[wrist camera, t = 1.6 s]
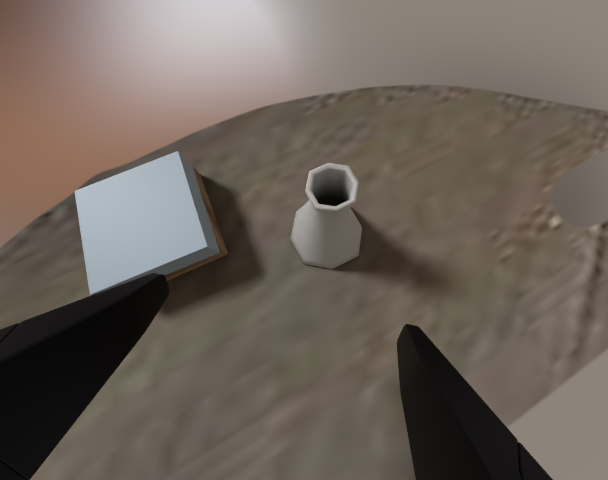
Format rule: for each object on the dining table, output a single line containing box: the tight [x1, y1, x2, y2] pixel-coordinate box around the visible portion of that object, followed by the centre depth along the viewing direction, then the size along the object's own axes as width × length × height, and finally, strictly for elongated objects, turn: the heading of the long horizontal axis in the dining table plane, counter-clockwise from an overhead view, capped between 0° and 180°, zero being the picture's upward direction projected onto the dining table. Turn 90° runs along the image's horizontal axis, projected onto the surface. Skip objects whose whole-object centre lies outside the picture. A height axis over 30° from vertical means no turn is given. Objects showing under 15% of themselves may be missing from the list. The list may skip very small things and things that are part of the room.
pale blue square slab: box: [75, 151, 220, 295], centre depth 21 cm, size 10×10×2 cm
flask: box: [290, 163, 362, 269], centre depth 18 cm, size 7×7×10 cm
